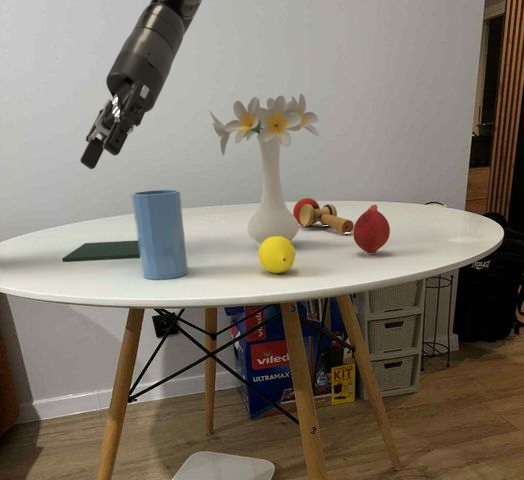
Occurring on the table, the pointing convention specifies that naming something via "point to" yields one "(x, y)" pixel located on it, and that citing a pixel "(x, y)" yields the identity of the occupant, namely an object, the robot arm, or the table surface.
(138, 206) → the tumbler
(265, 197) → the flower vase
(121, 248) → the mat
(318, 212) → the kendama
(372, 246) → the onion
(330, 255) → the table surface
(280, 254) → the lemon
